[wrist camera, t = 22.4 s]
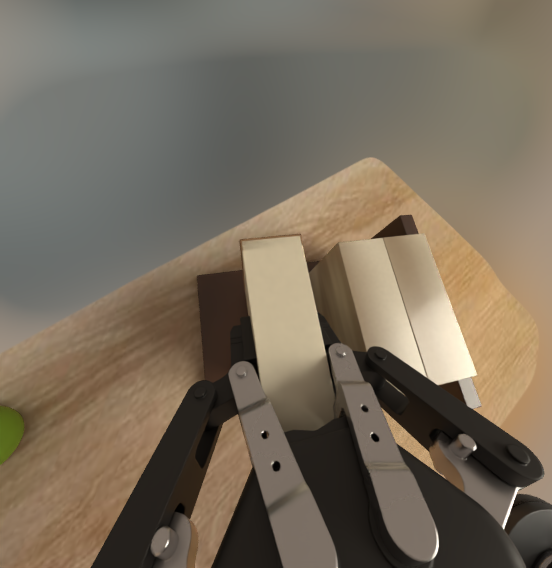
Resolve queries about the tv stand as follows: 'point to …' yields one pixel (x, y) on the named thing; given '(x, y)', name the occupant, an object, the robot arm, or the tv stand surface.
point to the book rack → (362, 307)
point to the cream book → (287, 332)
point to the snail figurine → (9, 431)
